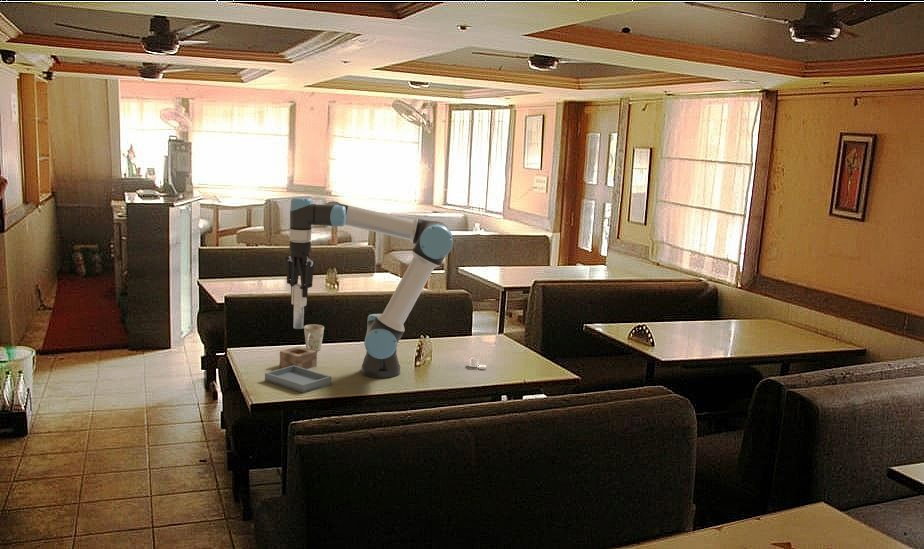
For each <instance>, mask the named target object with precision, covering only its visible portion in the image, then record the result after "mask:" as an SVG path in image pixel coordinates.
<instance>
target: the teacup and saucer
mask: <svg viewBox="0 0 924 549" xmlns="http://www.w3.org/2000/svg"><path fill="white" fill-rule="evenodd" d="M479 360H480V358H478V357H471V358H469V360H468V361H469V364H471V365H470V366H471V368H472V367H477V368H476V369H478V368H479V369H482V370H485V369H486V368H487V365H485V364H479ZM478 365H479V366H478Z"/></svg>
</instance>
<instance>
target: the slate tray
mask: <svg viewBox="0 0 924 549" xmlns="http://www.w3.org/2000/svg"><path fill="white" fill-rule="evenodd" d="M332 380H333V378H332V376H330V375H327V374H324V373H321V372H318V371H315V370H311V369H305V368H301V367H298V366H295V365H293V366H289V367H285V368H284V367H281V368H280V369H275V370H271V371H268V372H265V373H264V381H265V382H267V383H269V384H273V385H277V386H279V387H281V388H285V389H289V390H291V391H295V392H298V393H301V394H306V393H309V392H312V391H315V390H318V389H319V390H320V389H321V388H324V387H328V386H332V382H333V381H332Z"/></svg>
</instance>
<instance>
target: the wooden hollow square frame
mask: <svg viewBox="0 0 924 549" xmlns="http://www.w3.org/2000/svg"><path fill="white" fill-rule="evenodd" d="M317 360H318V351H313V350H310V349H306V347H302V346H296V347H293V348H288V349H283V350H281V351H279V367H281V368H285V367H289V366H293V365H295V366H298V367H301V368H305V369H308V370H310V369H311V368H316V367H317V364H318V362H317Z"/></svg>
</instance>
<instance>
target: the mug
mask: <svg viewBox="0 0 924 549" xmlns="http://www.w3.org/2000/svg"><path fill="white" fill-rule="evenodd" d="M303 330H304V331H303V332H304V339H305V340H304V341H305V348H306V349H310V350H313V351H317V352H320V351H321V350H322V343H323V338H324V330H325V326H324V325H322V324H314V323H313V324H306V325H303Z"/></svg>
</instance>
